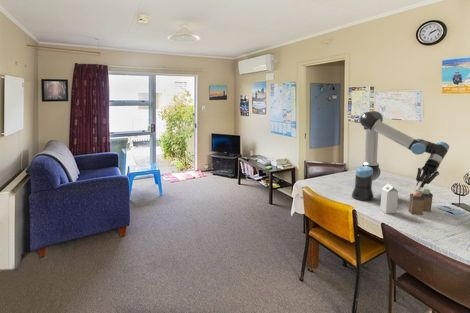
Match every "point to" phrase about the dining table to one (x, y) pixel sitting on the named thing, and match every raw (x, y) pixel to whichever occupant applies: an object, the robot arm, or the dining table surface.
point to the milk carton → (389, 199)
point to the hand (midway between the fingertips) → (416, 190)
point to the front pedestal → (416, 205)
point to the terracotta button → (417, 194)
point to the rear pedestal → (427, 202)
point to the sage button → (425, 191)
